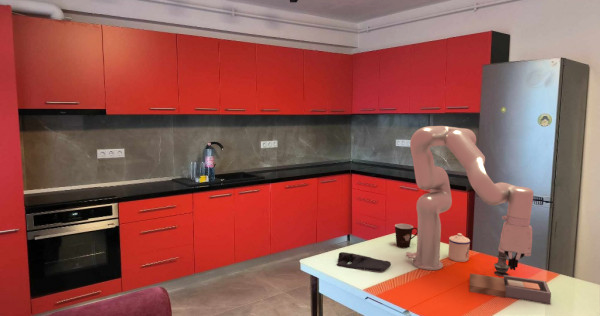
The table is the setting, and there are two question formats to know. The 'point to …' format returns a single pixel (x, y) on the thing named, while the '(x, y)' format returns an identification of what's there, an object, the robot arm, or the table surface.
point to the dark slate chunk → (361, 262)
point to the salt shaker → (501, 265)
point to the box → (528, 290)
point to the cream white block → (515, 283)
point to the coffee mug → (404, 235)
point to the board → (487, 285)
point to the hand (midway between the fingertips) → (512, 268)
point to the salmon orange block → (531, 286)
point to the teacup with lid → (459, 248)
